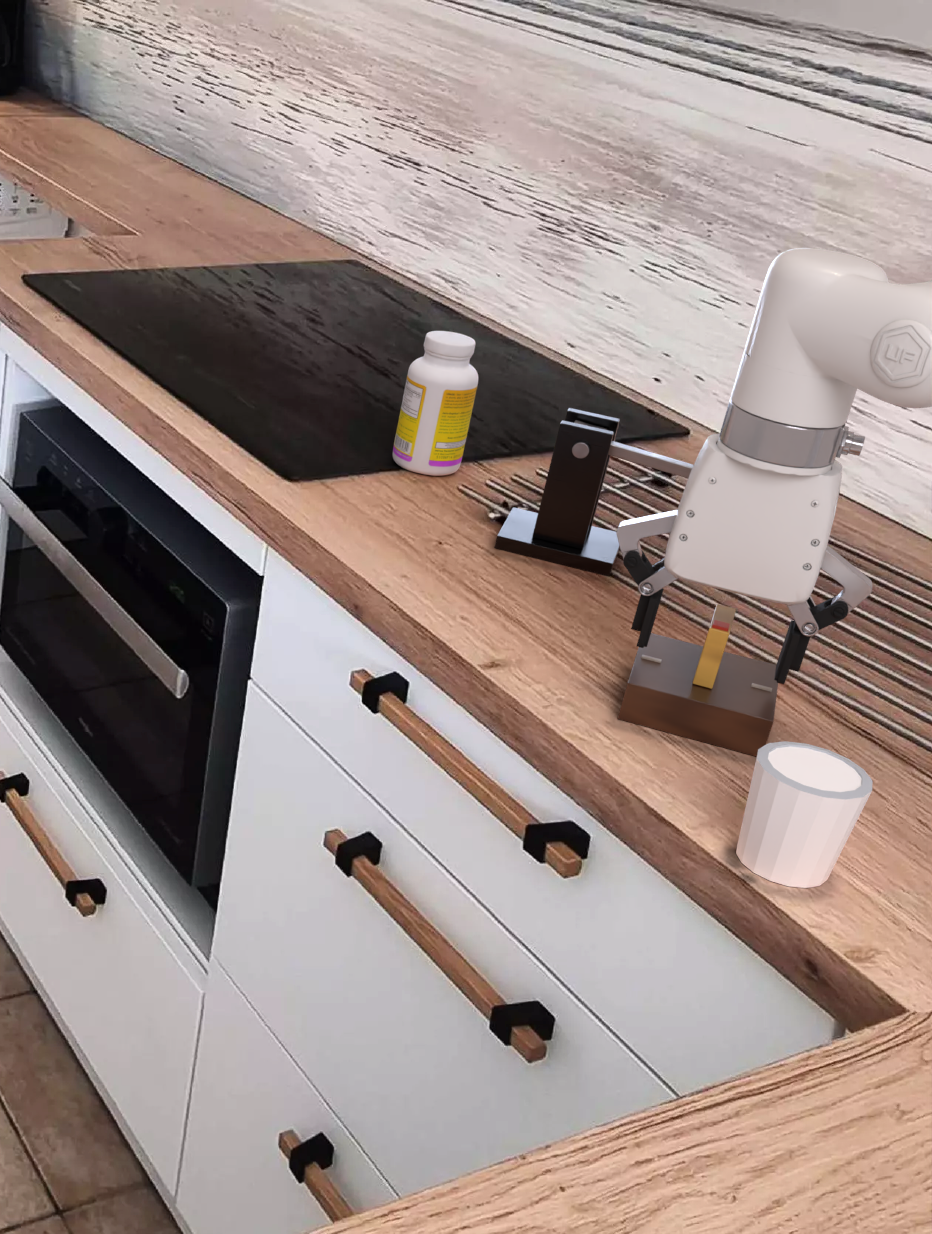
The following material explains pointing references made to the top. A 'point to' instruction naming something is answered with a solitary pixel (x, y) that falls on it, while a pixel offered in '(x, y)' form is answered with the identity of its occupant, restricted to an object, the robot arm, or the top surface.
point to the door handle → (647, 457)
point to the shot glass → (800, 812)
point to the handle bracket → (569, 501)
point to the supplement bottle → (437, 406)
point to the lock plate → (701, 696)
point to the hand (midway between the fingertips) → (710, 658)
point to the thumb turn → (714, 646)
